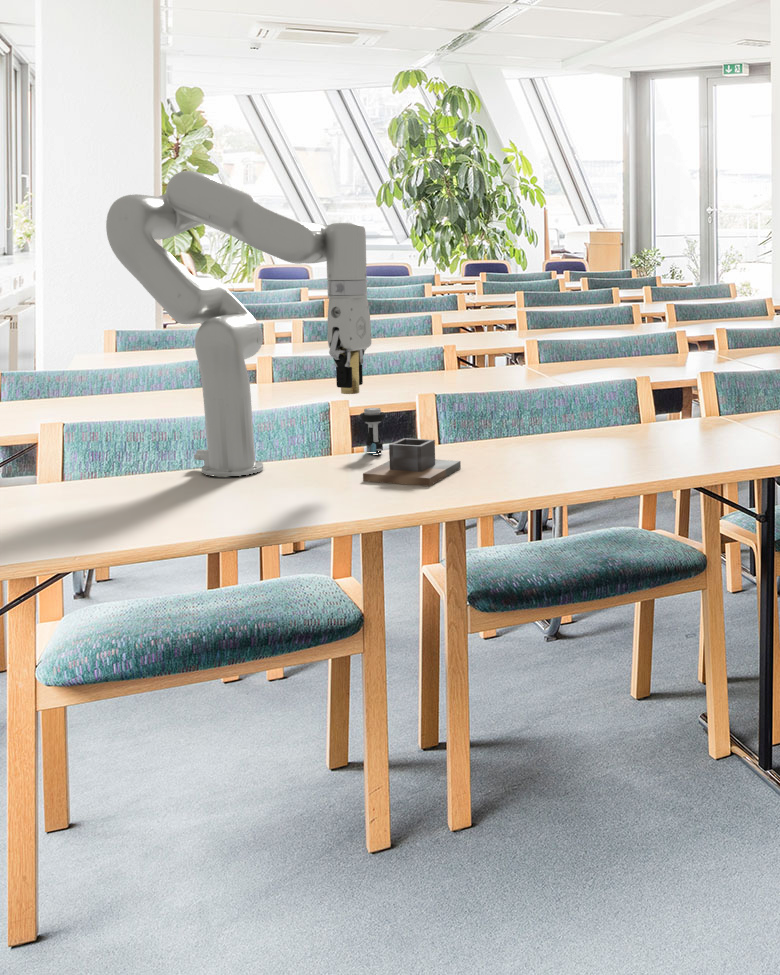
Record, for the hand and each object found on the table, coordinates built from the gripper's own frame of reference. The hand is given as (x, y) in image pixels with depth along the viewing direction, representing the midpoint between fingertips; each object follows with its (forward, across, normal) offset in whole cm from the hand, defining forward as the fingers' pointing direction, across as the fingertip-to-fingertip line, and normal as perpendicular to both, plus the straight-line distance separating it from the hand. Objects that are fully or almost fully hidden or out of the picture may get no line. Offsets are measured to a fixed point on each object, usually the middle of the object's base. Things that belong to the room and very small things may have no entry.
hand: (349, 385), depth 182 cm
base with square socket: (+18, +4, -12) cm, 22 cm away
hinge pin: (+2, 0, 0) cm, 2 cm away
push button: (+18, +19, +4) cm, 27 cm away
